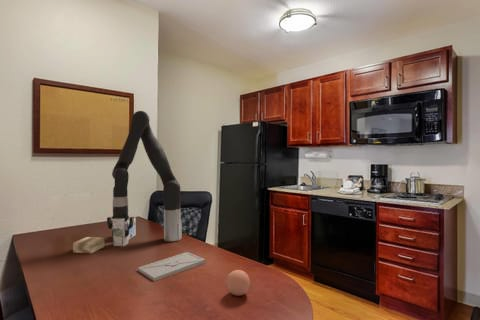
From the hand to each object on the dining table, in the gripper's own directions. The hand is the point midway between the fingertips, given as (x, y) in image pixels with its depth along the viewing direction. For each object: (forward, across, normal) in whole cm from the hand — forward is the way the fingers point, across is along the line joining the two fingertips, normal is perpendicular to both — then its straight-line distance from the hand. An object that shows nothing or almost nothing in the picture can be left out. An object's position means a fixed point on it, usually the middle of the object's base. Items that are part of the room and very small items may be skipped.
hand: (120, 236), depth 144 cm
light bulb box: (+5, +3, -14) cm, 15 cm away
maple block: (+5, +13, +7) cm, 15 cm away
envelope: (+5, -36, +29) cm, 46 cm away
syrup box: (+5, 0, 0) cm, 5 cm away
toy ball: (+5, -64, +52) cm, 83 cm away
